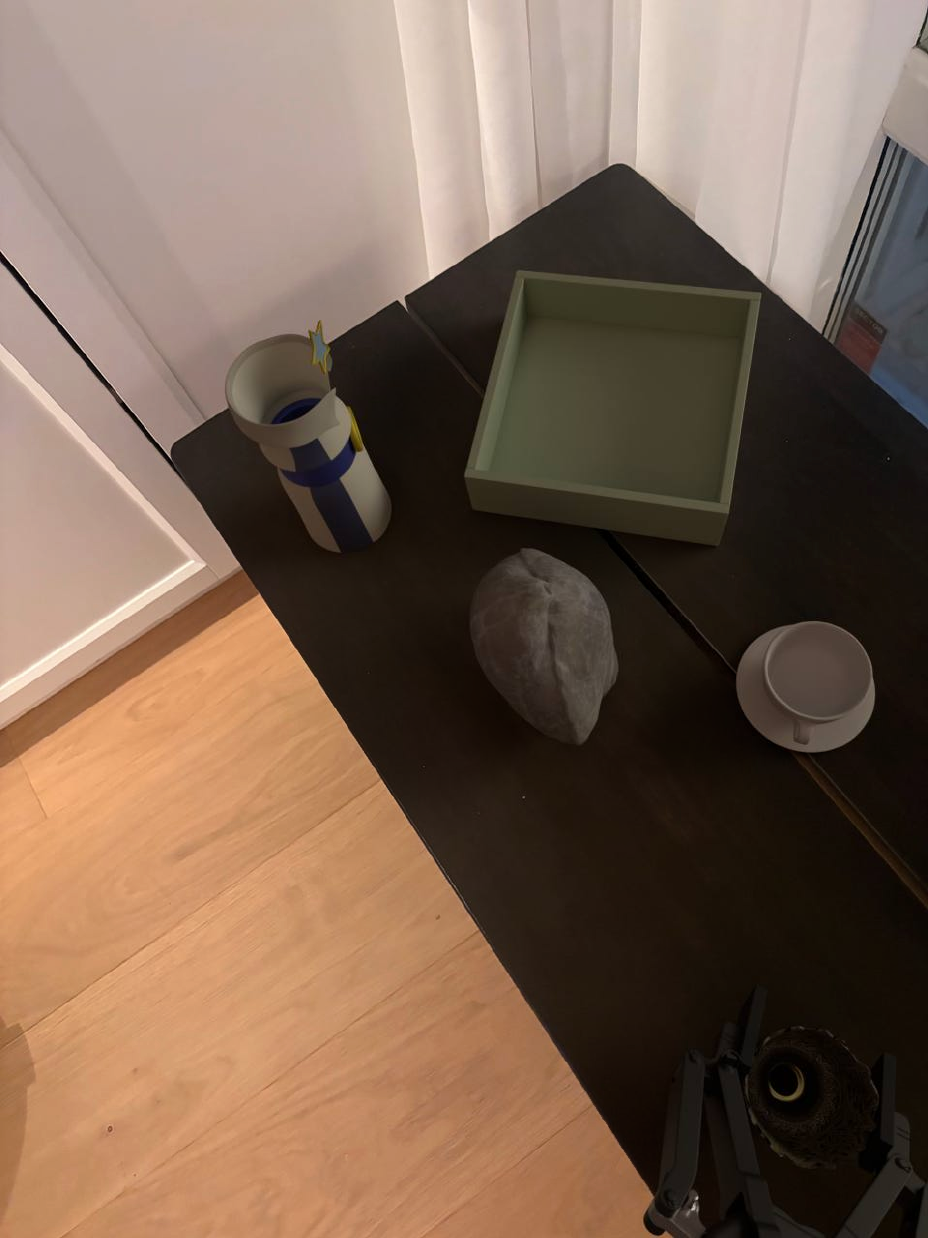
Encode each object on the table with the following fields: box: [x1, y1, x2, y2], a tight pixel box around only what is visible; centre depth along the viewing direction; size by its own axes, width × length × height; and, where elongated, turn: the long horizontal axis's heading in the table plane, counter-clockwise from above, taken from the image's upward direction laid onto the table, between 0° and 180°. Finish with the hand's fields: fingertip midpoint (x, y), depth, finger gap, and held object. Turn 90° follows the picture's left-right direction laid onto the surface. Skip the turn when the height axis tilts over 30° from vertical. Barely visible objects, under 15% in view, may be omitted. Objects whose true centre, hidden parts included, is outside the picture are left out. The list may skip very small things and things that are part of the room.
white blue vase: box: [224, 319, 393, 554], centre depth 68 cm, size 8×9×25 cm
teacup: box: [735, 620, 876, 753], centre depth 67 cm, size 10×10×5 cm
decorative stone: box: [468, 547, 619, 747], centre depth 65 cm, size 15×10×15 cm
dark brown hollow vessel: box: [741, 1025, 879, 1171], centre depth 56 cm, size 8×7×8 cm
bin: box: [463, 269, 762, 547], centre depth 76 cm, size 21×21×6 cm
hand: (815, 1034), depth 58 cm, fingers closed on dark brown hollow vessel, 7 cm apart
